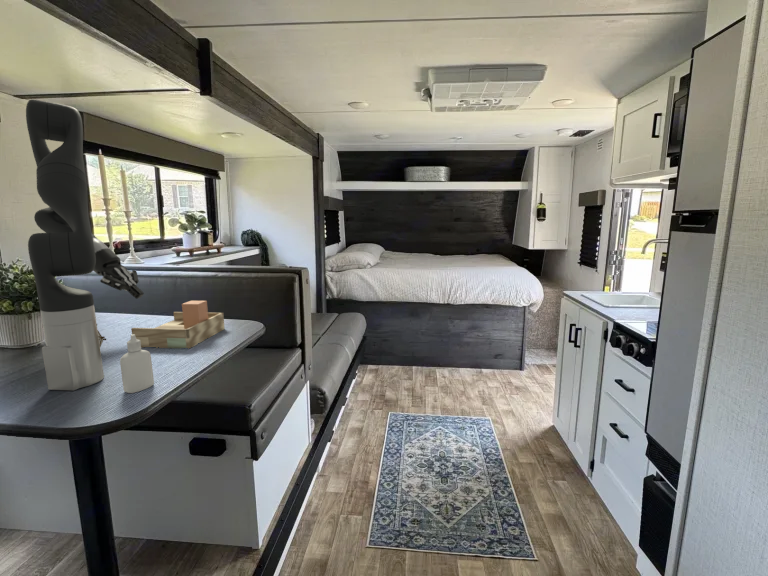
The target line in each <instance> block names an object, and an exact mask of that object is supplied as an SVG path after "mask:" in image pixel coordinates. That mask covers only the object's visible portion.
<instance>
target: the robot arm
mask: <svg viewBox="0 0 768 576" xmlns="http://www.w3.org/2000/svg"><path fill="white" fill-rule="evenodd" d="M25 119H26V126H27V127H26V128H27V132H28V136H29V141H30V145H31V149H32V153H33V157H34V160H35V164H36V191H37V194H38V195H39V197H40V198H41V200H42V202H43V203H44V204H46V205H47V206H48V207H46V208H41V209H39V210H37V211H36V212H35V214H34V222H35V224H36V225H37V226H38V228H39V229H40V230H42V231H43V232H36V233H33V234H31V235H30V236H29V239H28V241H27V243H28V244H27V246H28V247H27V249H28V256H29V261H30V266H31V269H32V273H33V278H34V280H35V281H34V282H35V287H36V292H37V297H38V304H39V311H40V317H41V323H42V328H43V334H44V335H43V336H44V342H45V345H44V346H42V347H41V352H42V358H43V364H44V369H45V377H46V382H47V389H48V390H52V391H53V390H54V391H76V390H78V389H81V388H84V387H88V386H89V387H90V386H92V385H95V384H97V383H99V382H101V381H103V380H104V377H105V372H104V366H103V359H102V351H101V347H100V344H99V337H98V331H99V330H98V323H97V316H96V310H95V309H96V307H95V301H94V295H93V292H91V291H88V290H86V289H79V288H74V287H70V286H67V285H65V284H62V283H61V282H59V281H58V280H57V279H56V277H68V276H69V277H70V276H81V275H88V274H91V273H93V272H94V273H95V274H96V275H97V276H102V278H101V279H100V281H99V282H100V283H102V284H104V285H106V286H109V287H111V288H113V289H116V290H118V291H122V290H124V291H126V292H128V293H129V294H130V295H131V296H132V297H134V298H135V299H136V300H137V299H138V300H139V299H140V298H142V297H143V296H144V292H143V290H141V288H139V286H137V285H138V284H139V283H140V281H139V280H140V279H139V277H138V272H137V270H135V269H132V270H129V269H128V268H127V267H125V266H124V265H122V264H121V259H120V257H119V256H118V255H117V254H116V253H114V252H113V250H112V249H110V248H109V246H107V245H106V244H105V243H104V242H103V241H102V240H100V239H99V238H98V237H96V235H94V233H92V226H91V222H90V221H91V220H90V215H89V200H88V199H89V198H88V182H87V175H86V174H87V173H86V169H85V167H86V166H85V162H84V146H83V144H84V143H83V142H84V128H83V119H82V116H81V113H80V111H79V110H78V109H77V108H75V107H73V106H71V105H67V104H63V103H62V104H61V103H58V102H50V101H45V100H41V99H40V100H39V99H29V100H28V101H27V103H26V108H25ZM46 141H53V142H59V143H60V142H61V143H62V144H61V145H60V146H58V147H57V148H55V149H54V150H52V151H51V150H50V148H49V147H48V144H47V142H46Z"/></svg>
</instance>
